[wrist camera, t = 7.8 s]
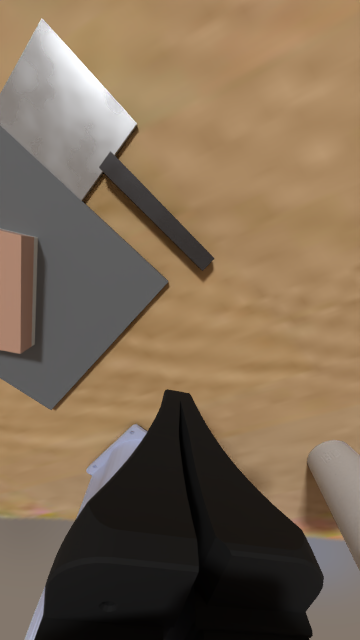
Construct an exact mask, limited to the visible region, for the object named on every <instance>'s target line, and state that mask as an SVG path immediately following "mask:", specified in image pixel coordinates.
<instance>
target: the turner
mask: <svg viewBox="0 0 360 640" xmlns="http://www.w3.org/2000/svg"><path fill="white" fill-rule="evenodd" d="M0 126H1V127H2V128H4V129H5V130H6V131H7V132H8V133H9V134H10V135H11V136H12V137H13V138H14V139H15V140H16V141H18V142H19V143H20V144H21V145H22V146H23V147H24V148H25V149H26V150H27V151H28V152H29V153H30V154H32V155H33V156H34V157H35V158H36V159H37V160H38V161H39V162H40V163H41V164H42V165H43V166H44V167H46V168H47V169H48V170H49V171H50V172H51V173H52V174H53V175H54V176H55V177H56V178H57V179H58V180H60V181H61V182H62V183H63V184H64V185H65V186H66V187H67V188H68V189H69V190H70V191H71V192H72V193H74V194H75V195H76V196H77V197H78V198H79V199H80V200H81V201H84V199H85V198H86V196H87V195H88V194H89V192H90V191H91V190H92V188H93V187H94V185H95V184H96V183H97V181H98V180H99V178H100V177H101V176H102V174H103V173H104V174H105V175H106V176H107V177H108V178H109V179H110V180H111V181H112V182H113V183H114V184H115V185H117V186H118V187H119V188H120V189H121V190H122V191H123V192H124V193H125V194H126V195H127V196H128V197H129V198H130V199H131V200H132V201H133V202H134V203H135V204H136V205H137V206H138V207H139V208H140V209H141V210H142V211H143V212H144V213H145V214H146V215H147V216H148V217H149V218H150V219H151V220H152V221H153V222H154V223H155V224H156V225H157V226H158V227H159V228H160V229H161V230H162V231H163V232H164V233H165V234H166V235H167V236H168V237H169V238H170V239H171V240H172V241H173V242H174V243H175V244H176V245H177V246H178V247H179V248H180V249H181V250H182V251H183V252H184V253H185V254H186V255H187V256H188V257H189V258H190V259H191V260H192V261H193V262H194V263H195V264H196V265H197V266H198V267H199V268H200V269H201V270H202V271H203V270H204V269H205V268H206V267H207V266H208V265H209V264H210V263H211V261H212V260H213V259H214V258H213V257H212V255H211V254H210V253H209V252H208V251H207V250H206V249H205V248H204V247H203V246H202V245H201V244H200V243H199V242H198V241H197V240H196V239H195V238H194V237H193V236H192V235H191V234H190V233H189V232H188V231H187V230H186V229H185V228H184V227H183V226H182V225H181V224H180V222H179V221H178V220H177V219H176V218H175V217H174V216H173V215H172V214H171V213H170V212H169V211H168V210H167V209H166V208H165V207H164V206H163V205H162V204H161V203H160V202H159V201H158V200H157V199H156V198H155V197H154V196H153V195H152V194H151V193H150V192H149V190H148V189H147V188H146V187H145V186H144V185H143V184H142V183H141V182H140V181H139V180H138V179H137V178H136V177H135V176H134V175H133V174H132V173H131V172H130V171H129V170H128V169H127V168H126V167H125V166H124V165H123V164H122V163H121V162H120V161H119V160H118V159H117V157H116V155H117V154H118V152H119V151H120V149H121V148H122V147H123V145H124V144H125V142H126V141H127V140H128V138H129V137H130V135H131V134H132V133H133V131H134V130H135V129H136V127H137V123H136V122H135V121H134V120H133V119H132V117H131V116H130V115H129V114H128V113H127V112H126V111H125V110H124V109H123V108H122V106H121V105H120V104H119V103H118V102H117V101H116V100H115V99H114V98H113V96H112V95H111V94H110V93H109V92H108V91H107V90H106V89H105V88H104V86H103V85H102V84H101V83H100V82H99V81H98V80H97V79H96V78H95V76H94V75H93V74H92V73H91V72H90V71H89V70H88V69H87V68H86V66H85V65H84V64H83V63H82V62H81V61H80V60H79V59H78V58H77V57H76V55H75V54H74V53H73V52H72V51H71V50H70V49H69V48H68V47H67V45H66V44H65V43H64V42H63V41H62V40H61V39H60V38H59V37H58V35H57V34H56V33H55V32H54V31H53V30H52V29H51V28H50V27H49V25H48V24H47V23H46V22H45V21H44V20H43V19H41V21H40V22H39V24H38V26H37V28H36V30H35V32H34V33H33V35H32V37H31V39H30V41H29V42H28V44H27V46H26V48H25V50H24V52H23V53H22V55H21V57H20V59H19V61H18V62H17V64H16V66H15V68H14V70H13V72H12V73H11V75H10V77H9V79H8V81H7V82H6V84H5V86H4V88H3V90H2V92H1V93H0Z"/></svg>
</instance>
